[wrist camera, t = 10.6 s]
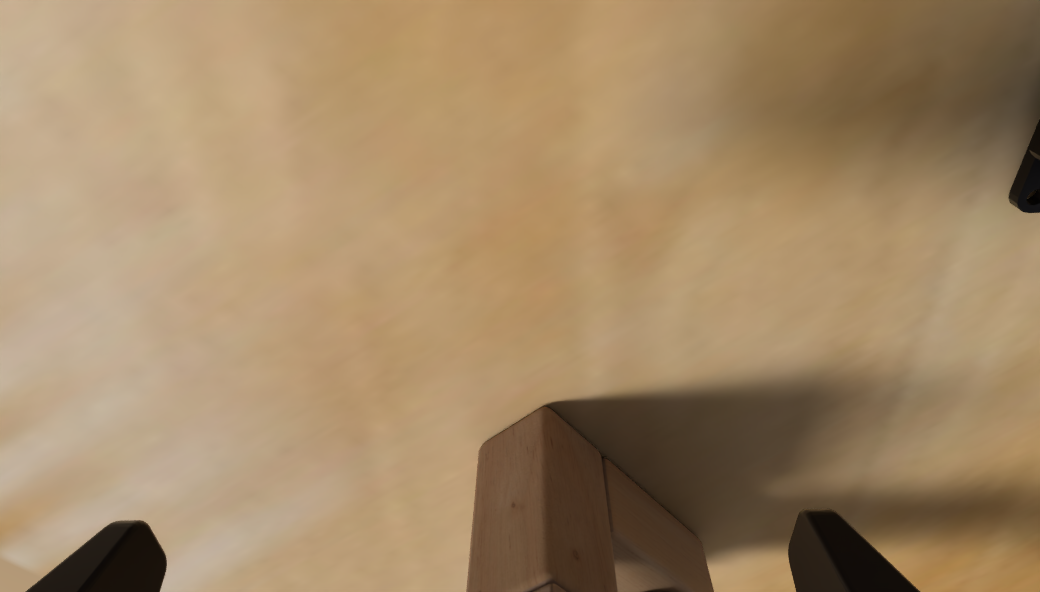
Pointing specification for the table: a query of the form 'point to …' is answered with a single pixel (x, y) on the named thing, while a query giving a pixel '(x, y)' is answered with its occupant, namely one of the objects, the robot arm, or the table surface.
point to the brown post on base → (571, 520)
